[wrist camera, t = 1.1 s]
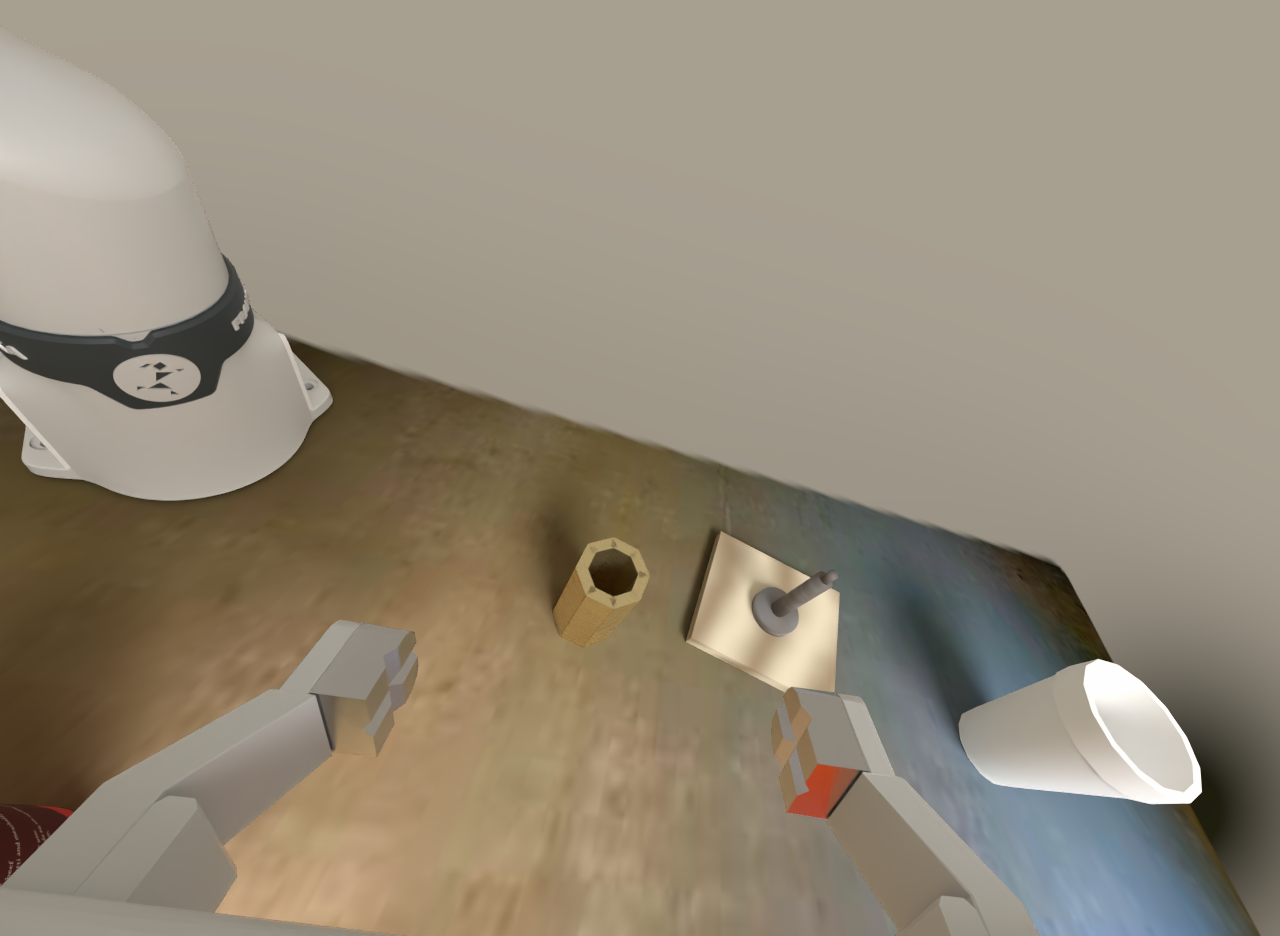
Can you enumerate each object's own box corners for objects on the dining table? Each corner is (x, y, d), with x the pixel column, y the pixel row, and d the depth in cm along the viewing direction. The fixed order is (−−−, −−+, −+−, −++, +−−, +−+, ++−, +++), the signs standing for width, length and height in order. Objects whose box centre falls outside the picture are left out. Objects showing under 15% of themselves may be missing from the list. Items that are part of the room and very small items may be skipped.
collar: (544, 627, 37) (566, 585, 30) (570, 576, 41) (596, 528, 34) (598, 655, 37) (632, 619, 31) (620, 602, 41) (656, 559, 34)
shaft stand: (685, 641, 40) (743, 599, 33) (716, 536, 48) (768, 482, 41) (824, 712, 41) (914, 687, 33) (832, 596, 49) (906, 554, 41)
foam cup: (1029, 734, 47) (1184, 711, 37) (1032, 831, 41) (1218, 835, 31) (948, 673, 48) (1077, 636, 38) (939, 759, 42) (1090, 741, 32)
